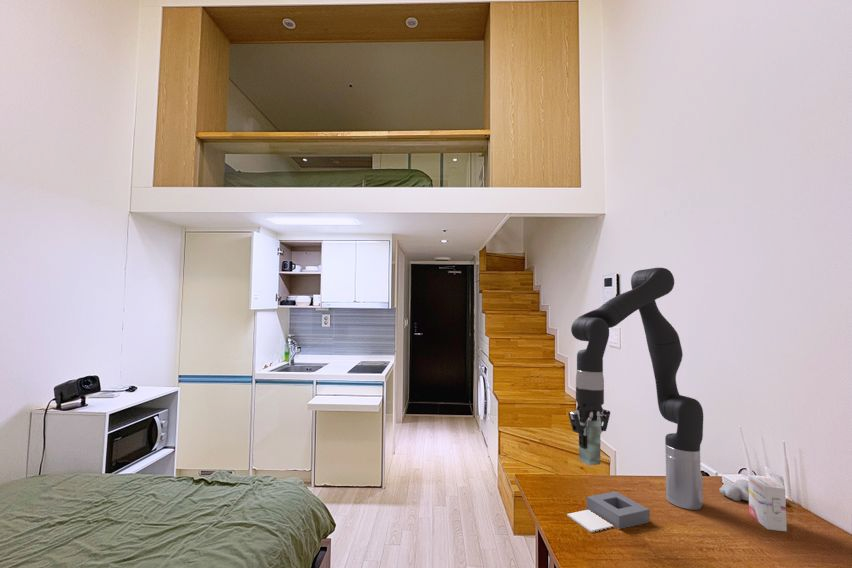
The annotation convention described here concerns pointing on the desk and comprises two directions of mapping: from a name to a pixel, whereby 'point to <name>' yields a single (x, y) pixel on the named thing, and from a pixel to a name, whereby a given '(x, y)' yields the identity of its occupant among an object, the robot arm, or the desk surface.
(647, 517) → the pocket holder
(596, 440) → the peg
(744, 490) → the bunny figurine
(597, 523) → the mat
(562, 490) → the desk surface
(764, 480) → the ink cartridge box
